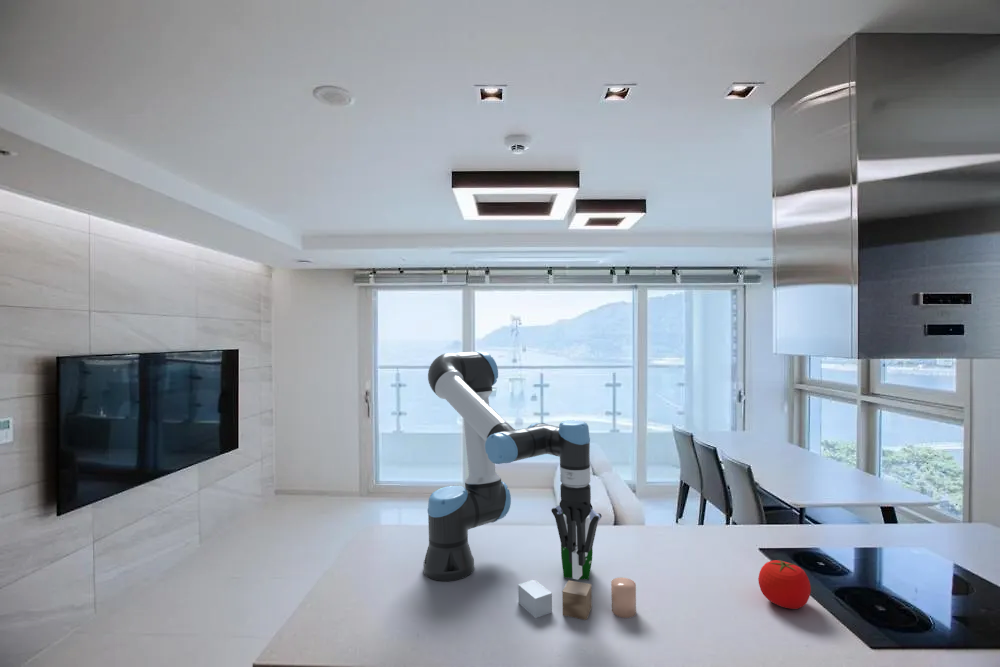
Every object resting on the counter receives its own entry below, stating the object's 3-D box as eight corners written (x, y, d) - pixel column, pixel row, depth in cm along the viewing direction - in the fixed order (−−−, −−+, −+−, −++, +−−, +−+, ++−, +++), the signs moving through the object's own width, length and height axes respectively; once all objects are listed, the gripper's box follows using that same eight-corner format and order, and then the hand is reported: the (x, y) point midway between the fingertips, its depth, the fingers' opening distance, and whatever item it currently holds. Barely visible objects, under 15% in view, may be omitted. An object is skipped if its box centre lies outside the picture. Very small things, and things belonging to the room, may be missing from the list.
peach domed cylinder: (608, 613, 125) (607, 585, 125) (616, 602, 130) (615, 575, 130) (631, 620, 122) (631, 592, 121) (639, 608, 127) (638, 581, 126)
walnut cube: (562, 615, 124) (562, 591, 124) (568, 603, 130) (568, 580, 130) (586, 620, 122) (586, 596, 122) (591, 607, 128) (591, 584, 128)
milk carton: (562, 564, 151) (561, 498, 150) (593, 567, 149) (592, 500, 149) (560, 579, 142) (559, 509, 142) (592, 581, 140) (591, 511, 140)
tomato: (815, 602, 128) (815, 561, 128) (802, 622, 119) (802, 579, 119) (768, 586, 136) (767, 548, 136) (752, 605, 127) (752, 564, 127)
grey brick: (518, 603, 130) (518, 584, 130) (534, 598, 133) (534, 579, 133) (535, 618, 123) (535, 598, 123) (552, 612, 126) (551, 593, 126)
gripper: (545, 483, 126) (547, 576, 126) (594, 491, 119) (596, 590, 119) (558, 476, 132) (560, 564, 132) (605, 483, 125) (607, 576, 125)
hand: (577, 576), depth 126 cm, fingers closed
